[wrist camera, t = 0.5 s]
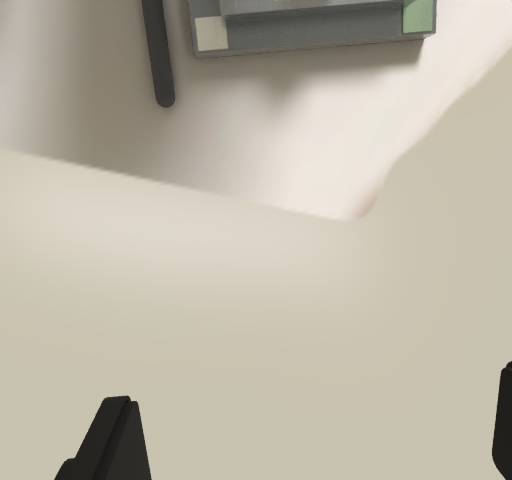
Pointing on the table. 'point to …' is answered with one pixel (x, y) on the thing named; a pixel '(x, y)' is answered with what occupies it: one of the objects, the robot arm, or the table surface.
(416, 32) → the panel
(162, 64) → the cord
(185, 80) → the table surface
